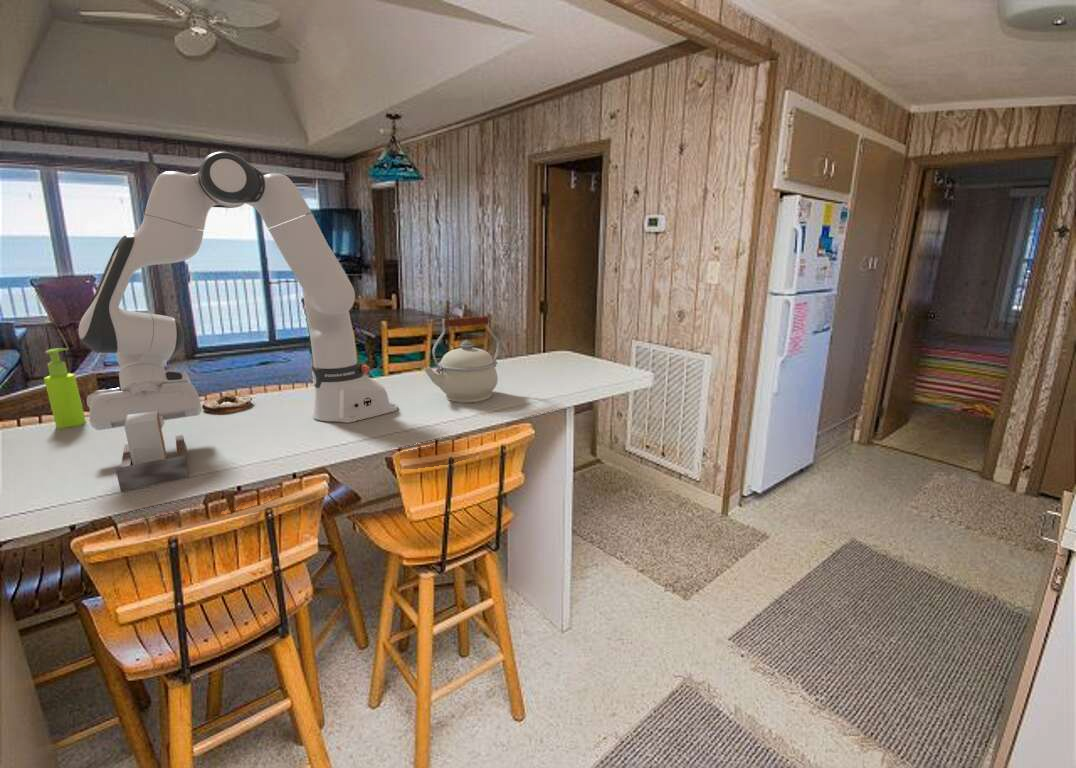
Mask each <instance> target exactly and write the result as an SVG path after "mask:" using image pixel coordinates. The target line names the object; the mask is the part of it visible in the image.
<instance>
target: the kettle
mask: <svg viewBox="0 0 1076 768" xmlns="http://www.w3.org/2000/svg"><path fill="white" fill-rule="evenodd" d="M489 320H490V319H489V316H488V315H483V316H468V317H467V316H463V317H454V318H452V319H448V318H442V321H441V322H442V323H441V324H442V332H441V334H440V335H439V336H438V338H437V340H436V341H435V342H434V344H433V347H432V351H431V353H432V355H431V356H432V357H433V360H434V363H435V365H436V367H437V368H436V369H435V371H434V370H433V368H432V367H430V366H424V367H422V368H423V371H424V372H425V373H426V374H427V376H428V377H429V379H430V381H431V382H432V383H433V384H434V385H436V386H437V387H438V388H439V389H440V390H441V391H442V392H443V393H444V394H445V398H446V399H447V400H448V401H450V402H454V403H461V404H462V403H463V404H464V403H465V404H469V403H471V404H472V403H479V402H483V401H486V400H489V398H491V396H492V392H493V391H494V389H495V388H496V386H497V385H498V381H499V380H498V374H497V370H496V368H497V365H498V361H497V359H498V355H499V353H500V342H499V339H498V338H497V337H496V335H495V334H494V333H493V332H492V330H491V328H490V325H489V322H490V321H489ZM481 324H483V325H485V326H486V327H485V328H486V329H487V332H488V333H489V334H490V335H491V336H492V337H493V339H494V341H495V342H496V349H495V353H494V357H492V355H491V354H490V353H489V352H488V351H486V350H484V349H482V348H476V347H473V346H474V344H473V342H472V341H470V340H469V339H465V340H463V341H462V342H461V344H460V348H459V347H458V348H454V349H452V350H449V351H447V352H446V353H445V354H444V355H443V356H442V358H441V360H440V361H439V362H438V360H437V358H436V349H437V346H438V345H439V343H440V342H441V340H442V339H443V337H444V335H445V333H446V329H447V328H449V327H467V326H476V325H481Z"/></svg>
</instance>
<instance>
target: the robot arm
mask: <svg viewBox="0 0 1076 768" xmlns="http://www.w3.org/2000/svg"><path fill="white" fill-rule="evenodd" d="M245 204H246V205H249V206H251V207H252V208H254V209H255V210H256V211H257V212H258V214H259V215H260V217H261V218H262V220H263V222H264V224H265V226H266V229H268V232H269V234H270V235H271V236H272V238H273V240H274V242H275V244H276V246H277V248H278V249H279V251H280V253H281V255H282V257H283V258H284V260H285V262H286V263H287V265H288V267H289V268H290V270H291V272H292V273H293V275H294V277H295V278H296V280H297V281H298V284H299V285H300V287H301V289H302V295H303V303H304V310H305V315H306V316H305V317H306V320H307V327H308V333H309V337H310V346H311V347H310V348H311V353H312V363H313V365H312V366H311V370H312V371H311V374H312V375H311V376H312V383H313V386H314V387H315V388H314V391H315V392H314V393H315V394H314V395H315V396H314V407H313V413H312V418H313V419H315V420H317V421H321V422H340V423H346V424H347V423H348V424H349V423H354V422H356V421H357V420H358V421H361V420H365V419H369V418H373V417H379V416H381V415H384V414H389V413H394V412H396V411H397V410H398V405H397V403H396V402H395V401H394V400H392V399H390V398H389V397H388V392H387V391H386V388H385V387H384V386H383V384H381V383H379V382H377V381H376V380H374V379H373V378H371V377H370V376H367V375H366V374H368V373H369V372H371V367H370V366H369V365H367V364H363V363H361V362H358V361H357V353H356V351H357V349H356V339H355V332H354V329H353V324H352V320H351V316H350V310H351V309H352V308H353V306H354V304H355V299H356V293H355V289H354V286H353V284H352V283H351V281H350V279H349V277H348V275H347V274H346V272H345V270H344V269H343V267H342V265H341V263H340V262H339V260H338V258H337V256H336V255H335V253H334V251H332V249H331V247H330V246H329V244H328V242H327V239H325V236H324V234H323V232H322V230H321V228H320V226H319V224H318V222H317V220H316V219H315V216H314V214H313V212H312V211H311V208H310V207H309V205H308V203H307V201H306V200H305V198H304V196H303V194H301V192H300V191H299V190H298V188H297V186H296V185H295V184H294V182H293V181H292V179H290V178H289V177H288V176H286V174H285V175H284V174H282V173H277V172H271V173H266V174H263V173H262V172H261V171H260V170H258V169H257V168H256V167H254V166H253V165H251V164H250V163H249V162H248V161H247V160H245V159H244V158H243V157H241V156H239V155H238V154H235V153H233V152H229V151H216V152H215V151H214V152H213V153H210V154H208V155H207V156H206V157H204V159H203V160H202V161H201V163H200V166H199V170H198V171H197V172H196V173H195V174H188V173H185V172H181V171H177V170H176V171H174V170H171V171H169V170H168V171H163V172H161V173H160V174H159V175H158V176H157V177H156V179H155V181H154V183H153V185H152V188H151V190H150V193H149V197H148V200H147V203H146V207H145V212H144V217H143V220H142V223H141V224H140V225H139V227H138V228H137V229H136V230H135V231H134V232H132V234H127V235H123V236H122V237H121V239H120V240H118V242H117V243H116V246H115V247H114V249H113V251H112V253H111V255H110V257H109V260H108V262H107V263H106V266H105V268H104V271H103V273H102V276H101V278H100V281H99V283H98V285H97V287H96V289H95V292H94V294H93V297H92V299H91V301H90V303H89V304H88V306H87V309H86V311H85V312H84V314H83V315H82V318H81V319H80V322H79V325H78V338H79V340H80V342H82V344H84V345H85V346H86V347H87V348H89V349H90V350H92V352H94V353H97V354H116V361H117V363H118V366H119V372H118V378H119V387H116V388H108V389H99V390H98V389H97V390H95V391H94V392H92V393H90V394H89V395H87V397H86V405H87V407H88V408H89V415H88V418H89V423H90V425H91V427H92V428H93V429H95V430H96V431H102V430H109V429H115V428H116V429H117V428H121V427H124V424H125V422H126V418H127V415H130V414H137V413H145V412H152V411H158V413H159V418H160V423H161V429H162V430H163V427H164V425H165V421H169V420H175V419H181V418H188V417H189V418H190V417H195V416H199V415H200V414H201V412H203V411H202V410H203V408H202V405H201V399H200V396H199V394H198V392H197V390H196V387H195V386H194V385H193V384H192V383H191V379H190V376H189V375H188V373H187V372H184V371H183V372H182V371H174V370H168V369H165V366H164V365H165V363H166V362H167V363H168V362H169V361H171V360H172V359H174V358H175V357H176V356H177V355H179V354H180V353H181V352H182V350H183V348H184V346H185V334H184V329H183V327H182V324H180V322H179V321H178V320H177V319H176V318H175V317H173V316H169V315H168V316H167V315H162V314H157V313H156V314H155V313H149V312H148V313H147V312H143V311H141V312H139V311H135V310H127V309H122V308H120V304H121V303H122V299H123V297H124V295H125V292H126V290H127V289H128V288H127V287H128V285H129V283H130V280H131V278H132V275H133V274H135V272H137V271H138V270H140V269H142V268H145V267H149V266H156V265H168V264H177V263H181V262H184V261H186V260H188V259H190V258H192V257H193V256H194V255H195V256H196V254H197V253H198V251H199V250H200V247H201V244H202V241H203V237H204V230H205V226H206V221H207V218H208V217H207V216H208V213H209V212H210V210H211V209H212V208H224V209H226V208H227V209H232V208H233V209H234V208H239V207H242V206H244V205H245Z"/></svg>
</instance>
